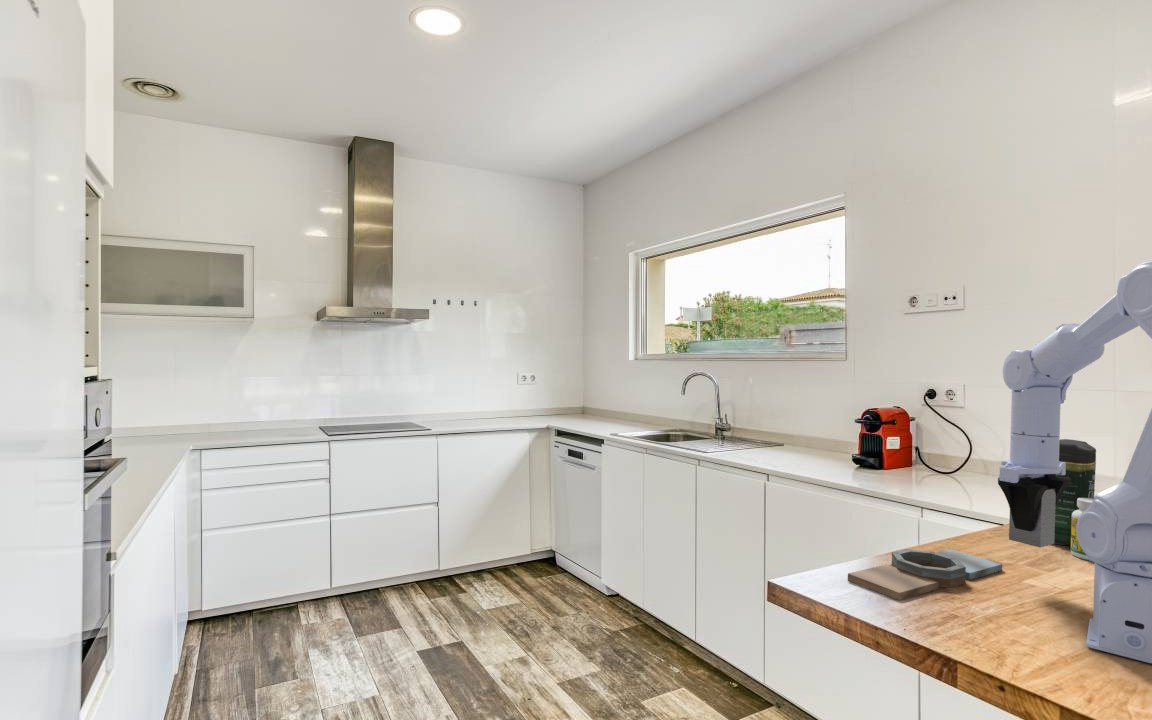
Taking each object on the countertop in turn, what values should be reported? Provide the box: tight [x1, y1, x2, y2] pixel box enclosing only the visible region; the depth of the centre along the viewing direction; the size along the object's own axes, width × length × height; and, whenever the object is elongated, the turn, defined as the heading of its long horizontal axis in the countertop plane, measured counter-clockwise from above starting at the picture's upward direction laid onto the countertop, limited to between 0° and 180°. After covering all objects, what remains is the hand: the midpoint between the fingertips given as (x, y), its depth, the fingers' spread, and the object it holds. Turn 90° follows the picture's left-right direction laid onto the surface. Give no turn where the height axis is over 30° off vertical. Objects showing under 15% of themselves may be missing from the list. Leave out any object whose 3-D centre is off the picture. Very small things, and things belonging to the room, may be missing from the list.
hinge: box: [847, 548, 1003, 601], centre depth 93 cm, size 26×9×2 cm, turn 119°
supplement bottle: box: [1070, 498, 1093, 561], centre depth 103 cm, size 5×5×10 cm
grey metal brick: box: [1008, 487, 1056, 548], centre depth 89 cm, size 4×4×8 cm
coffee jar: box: [1054, 438, 1097, 546], centre depth 112 cm, size 10×8×19 cm
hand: (1031, 527), depth 89 cm, fingers closed on grey metal brick, 4 cm apart
